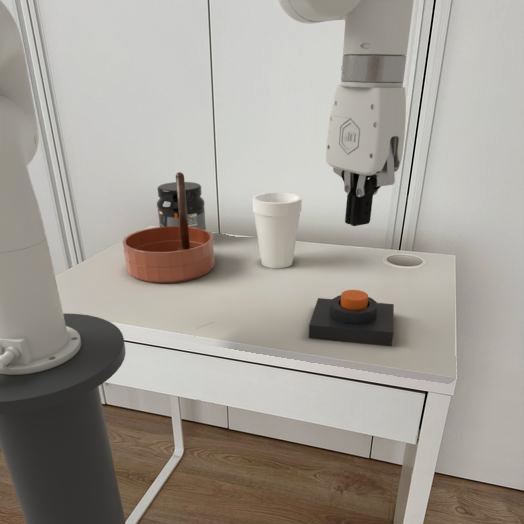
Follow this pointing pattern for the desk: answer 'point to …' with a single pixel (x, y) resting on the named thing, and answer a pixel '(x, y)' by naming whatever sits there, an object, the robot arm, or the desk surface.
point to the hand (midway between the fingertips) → (357, 223)
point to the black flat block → (352, 322)
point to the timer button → (354, 299)
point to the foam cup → (277, 226)
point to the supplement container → (170, 205)
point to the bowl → (168, 254)
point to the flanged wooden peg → (182, 212)
